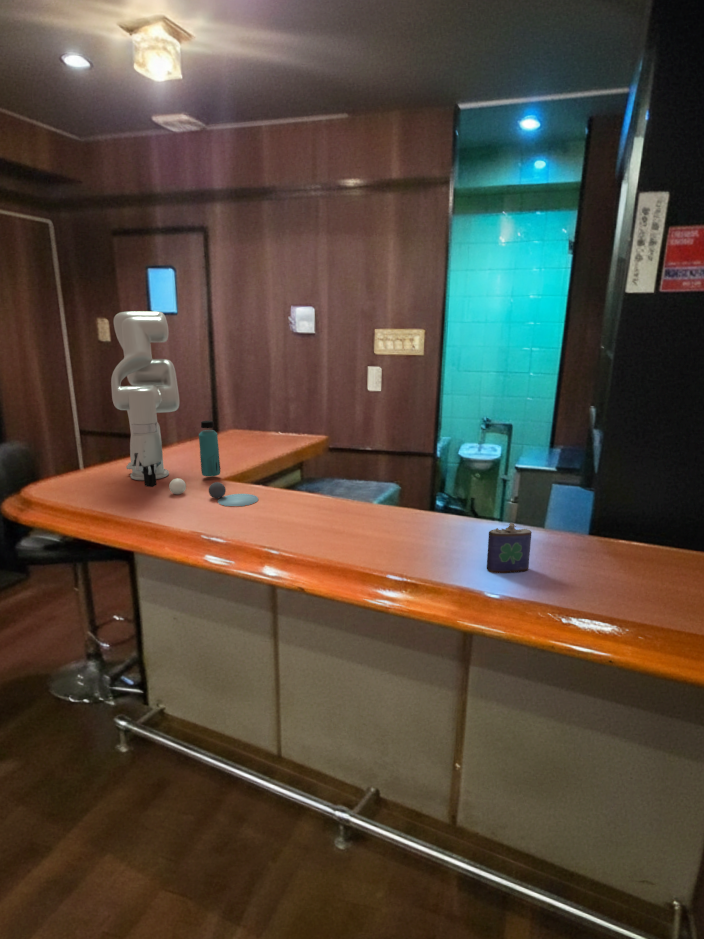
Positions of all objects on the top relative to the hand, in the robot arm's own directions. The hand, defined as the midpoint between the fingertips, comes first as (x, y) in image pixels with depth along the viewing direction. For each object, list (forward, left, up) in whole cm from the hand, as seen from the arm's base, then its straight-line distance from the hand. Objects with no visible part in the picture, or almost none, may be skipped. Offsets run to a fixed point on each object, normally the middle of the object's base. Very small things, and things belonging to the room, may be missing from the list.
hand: (150, 485), depth 169 cm
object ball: (+24, 0, +1) cm, 24 cm away
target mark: (+31, 0, -2) cm, 31 cm away
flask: (+110, -25, -2) cm, 112 cm away
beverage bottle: (+10, +19, -2) cm, 22 cm away
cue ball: (+10, 0, +1) cm, 10 cm away
